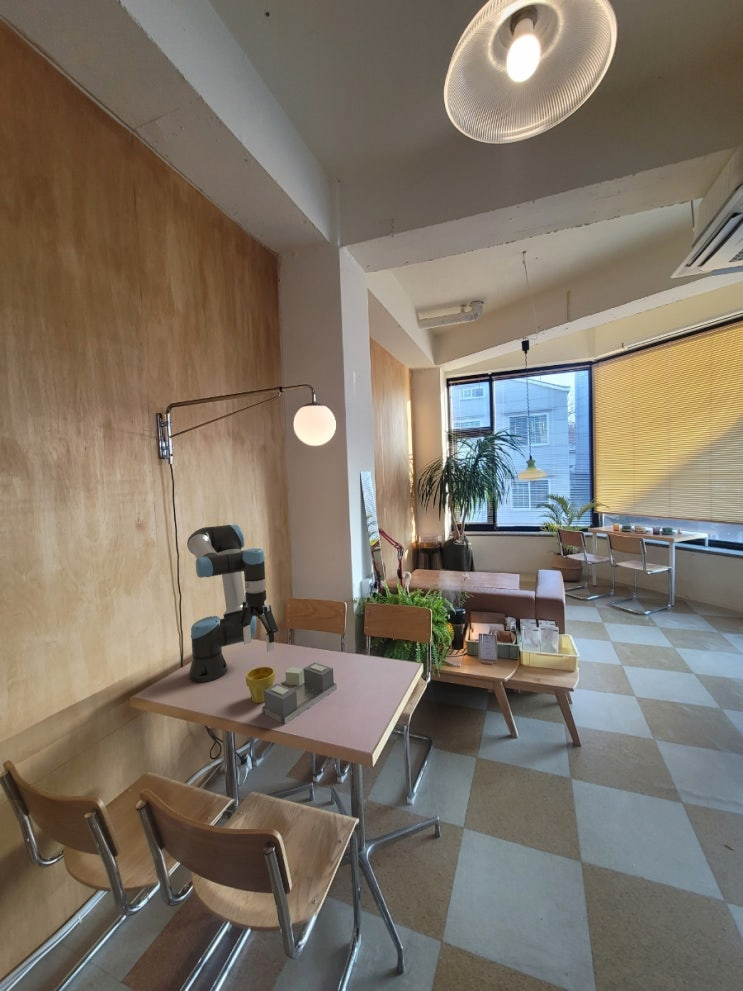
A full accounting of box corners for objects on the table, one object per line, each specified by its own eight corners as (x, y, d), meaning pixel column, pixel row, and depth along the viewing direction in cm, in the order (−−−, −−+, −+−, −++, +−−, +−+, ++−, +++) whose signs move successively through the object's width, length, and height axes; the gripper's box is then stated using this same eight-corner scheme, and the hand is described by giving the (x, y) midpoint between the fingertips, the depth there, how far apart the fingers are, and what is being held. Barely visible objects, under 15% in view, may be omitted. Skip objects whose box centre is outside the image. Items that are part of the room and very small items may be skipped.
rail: (262, 712, 137) (261, 707, 137) (314, 680, 158) (314, 675, 158) (285, 724, 130) (284, 718, 130) (336, 688, 151) (336, 683, 151)
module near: (264, 707, 137) (263, 689, 137) (278, 699, 142) (277, 682, 142) (283, 716, 131) (282, 697, 131) (297, 707, 136) (296, 689, 136)
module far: (304, 683, 152) (303, 667, 152) (315, 677, 157) (314, 661, 157) (323, 690, 146) (322, 674, 146) (333, 683, 151) (332, 667, 151)
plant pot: (268, 707, 141) (266, 680, 140) (241, 705, 143) (240, 678, 142) (280, 691, 151) (278, 666, 151) (255, 690, 153) (254, 665, 153)
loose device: (286, 684, 157) (285, 671, 156) (290, 679, 160) (290, 667, 160) (299, 685, 155) (298, 673, 155) (304, 680, 159) (303, 668, 159)
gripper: (227, 589, 150) (230, 643, 150) (269, 597, 135) (272, 658, 136) (243, 584, 156) (246, 636, 157) (285, 592, 141) (289, 650, 142)
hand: (258, 646), depth 146 cm, fingers open, 13 cm apart
